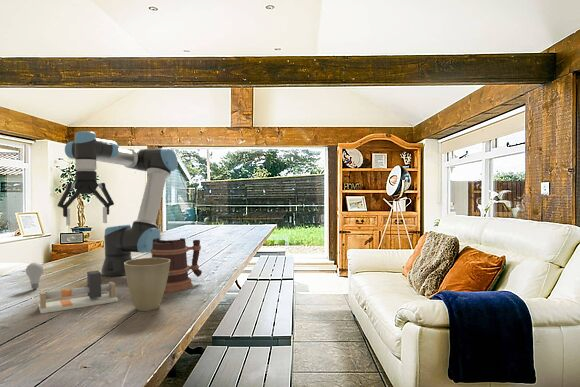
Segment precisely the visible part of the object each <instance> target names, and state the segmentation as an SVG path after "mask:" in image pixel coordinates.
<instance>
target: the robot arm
mask: <svg viewBox="0 0 580 387" xmlns="http://www.w3.org/2000/svg"><path fill="white" fill-rule="evenodd" d="M64 153H65V156H66V157H68V158H69V159H75V162H74V163H75V168H74V169H75V170H76V171H75V175H74V176H75V181H74V182H75V183H71V182H67V183H66V185H65V190H64V192H63V194H61V197H60V199H59V201H58V203H57V205H56V206H57V207H58V208H62V215H63V218H65V226H68V227H69V226H71V208H69V207H70V206H71V204H72V203H73V202H74V201H75V200H76V199H77V198H78V196H80V195H93V196H95V197H96V199H98V201H100V203H101V204H102V205H103V206H102V223H103V224H107V223H108V215H110V207H111V206H115V205H114V204H115V203H114V201H113V199H112V197H111V195H110V193H109V191H108V190H107V188H106V183H105V182H101V183H98V182H97V181H98V178H97V162H102V163H108V164H113V165H120V166H124V167H125V168H127V169H132V170H137V171H141V172H142V171H143V172H146V173H147V174H148V176H147V179H146V180H147V181H146V184H145V188H144V192H143V195H142V200H141V203H140V206H139V212H138V216H137V219H136V220H134V221H132V225H131V224H129V223H128V224H124V225H123V224H121V225H114V226H108V227H106V228H105V229H104V237H103V238H104V260H103V263H102V267H101V270H100V273H101V276H104V277H105V276H106V277H118V276H119V277H121V276H126V273H125V267H124V262H126V261H129V260H133V258H132V253H141V254H145V253H151V251H150V250H151V249H152V245H153V239H155V238H159V240H162V239H161V237H162V236H161V231H160V230H159V226H158V225H157V218H158V213H159V210H160V206H161V202H162V199H163V198H162V197H163V194H164V189H165V184H166V181H167V179H168V178H169V177H170V176H171V174H172V173H171V172H174V171H175V170H177V168H178V163H179V162H178V157H177V154H176V152H175V151H174V150H173V149H172V148H168V147H161V148H142V149H132V148H130V149H129V148H128V149H122V148H120V147H119V144H118V143H117V142H116V141H114V140H112V139H111V140H110V139H104V138H102V139H101V138H97V134H96V133H95V132H94V131H89V130H88V131H87V130H83V131H82V130H81V131H80V130H79V131H77V132H75V133H74V140H73V141H69V142H67V143H66V144H65V145H64ZM98 187H99V189H100V191H101V192H102V195H101V194H100V193H99V191H98V190H97V188H98ZM73 188H75V189H76V190H75V191H74V193H73V194H72V195H71V196H70V197H69V196H68V195H69V194H70V192H71V190H72V189H73ZM103 195H104V197H105V198H104V197H103ZM68 197H69V198H68ZM67 198H68V199H67ZM66 200H67V201H66ZM106 200H107V201H106ZM65 201H66V202H65Z"/></svg>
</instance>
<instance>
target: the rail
mask: <svg viewBox="0 0 580 387" xmlns="http://www.w3.org/2000/svg"><path fill="white" fill-rule="evenodd" d="M116 289H117V288H116V283H115V282H114V281H108V283H104V284H101V297H97V298H89V296H88V293H90V286H89V287H88V286H83V287H75V288H74V287H73V288H66V289H60V290H51V291H45V290H39V303H38V309H39V313H40V314H48V313H53V312H58V311H59V312H60V311H66V310H73V309H79V308H84V307H85V308H86V307H92V306H96V305H103V304H108V303H110V304H111V303H115V302H117V303H118V302H119V298H118V297H117V296H116V295H117V293H116ZM102 292H108V293H102ZM78 295H81V297H75V298H70V297H73V296H78ZM82 295H87V296H82ZM68 297H69V298H68ZM59 298H68V299H61V300H60V299H59ZM53 299H59V300H55V301H47V300H53Z"/></svg>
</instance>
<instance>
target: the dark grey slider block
mask: <svg viewBox="0 0 580 387" xmlns="http://www.w3.org/2000/svg"><path fill="white" fill-rule="evenodd" d="M86 273H87V275H86V276H87V281H86V282H87V287H89V286H90V293H88V294H87V297H88V296H89V298H97V297H101V294H102V292H101V285H102V275H101V271H99V270H91V271H87V272H86Z"/></svg>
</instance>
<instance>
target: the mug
mask: <svg viewBox="0 0 580 387" xmlns="http://www.w3.org/2000/svg"><path fill="white" fill-rule="evenodd" d="M192 243H193V245H192V246H188V245H186V238H182V237H181V238H179V239H170V240H169V239H167V240H164V239H163V240H162V239H160V240H159V238H155V239H153V245H152V249H151V250H150V251H151V252H150V254H151V258H165V259H169V260H170V267H169V274H168V279H167V283H166V287H165V291H164V293H173V292H174V293H175V292H180V291H186V290H189V289H190V288H192V287H193V282H192V278H191V277H189V273H188V272H189V271H191V270H192V272H193V273H194V275H195V276H196V277H197V278H198V277H199V278H200V276H202V273H203V271H202V270H201V269H200V265H199V264H198V261H199V256H200V251H201V249H202V246H201V245H200V244H201V240H200V239H193V240H192ZM190 250H192V260H191V265H188V256H187V252H189V251H190Z"/></svg>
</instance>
